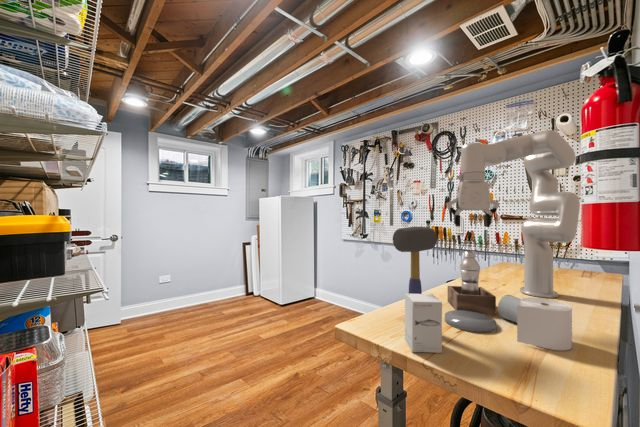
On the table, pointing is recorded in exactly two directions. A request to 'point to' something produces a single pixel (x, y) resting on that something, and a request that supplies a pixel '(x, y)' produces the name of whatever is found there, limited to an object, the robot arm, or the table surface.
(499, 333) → the table surface
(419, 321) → the supplement box
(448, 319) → the plate
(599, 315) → the table surface
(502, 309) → the ceramic mug
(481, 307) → the holder
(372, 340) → the table surface
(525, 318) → the toilet tissue
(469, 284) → the plastic bottle
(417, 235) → the rubber mallet
